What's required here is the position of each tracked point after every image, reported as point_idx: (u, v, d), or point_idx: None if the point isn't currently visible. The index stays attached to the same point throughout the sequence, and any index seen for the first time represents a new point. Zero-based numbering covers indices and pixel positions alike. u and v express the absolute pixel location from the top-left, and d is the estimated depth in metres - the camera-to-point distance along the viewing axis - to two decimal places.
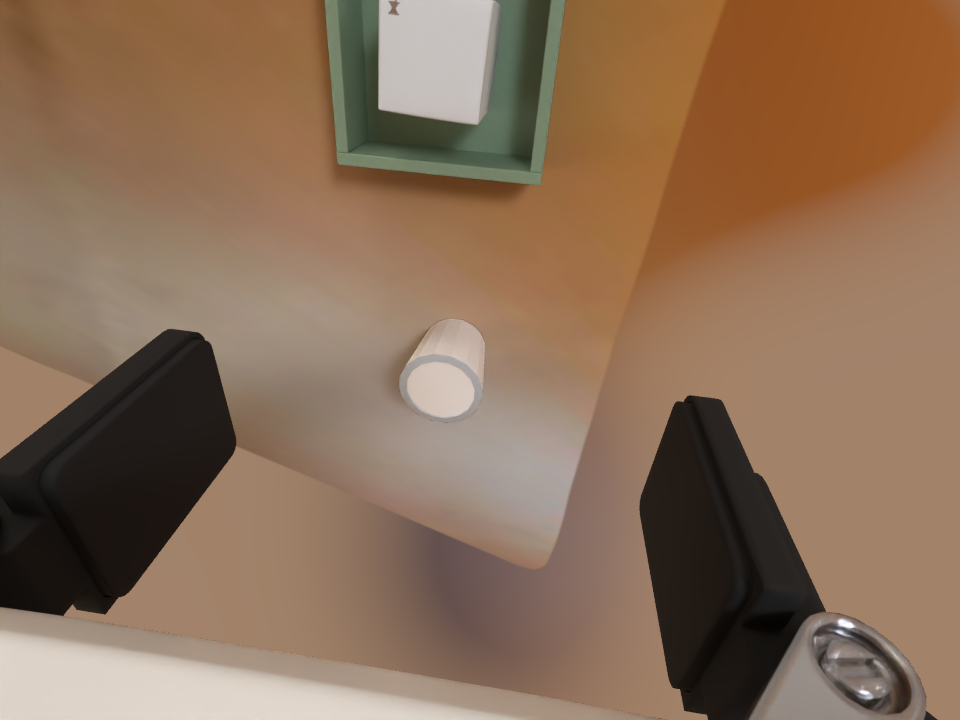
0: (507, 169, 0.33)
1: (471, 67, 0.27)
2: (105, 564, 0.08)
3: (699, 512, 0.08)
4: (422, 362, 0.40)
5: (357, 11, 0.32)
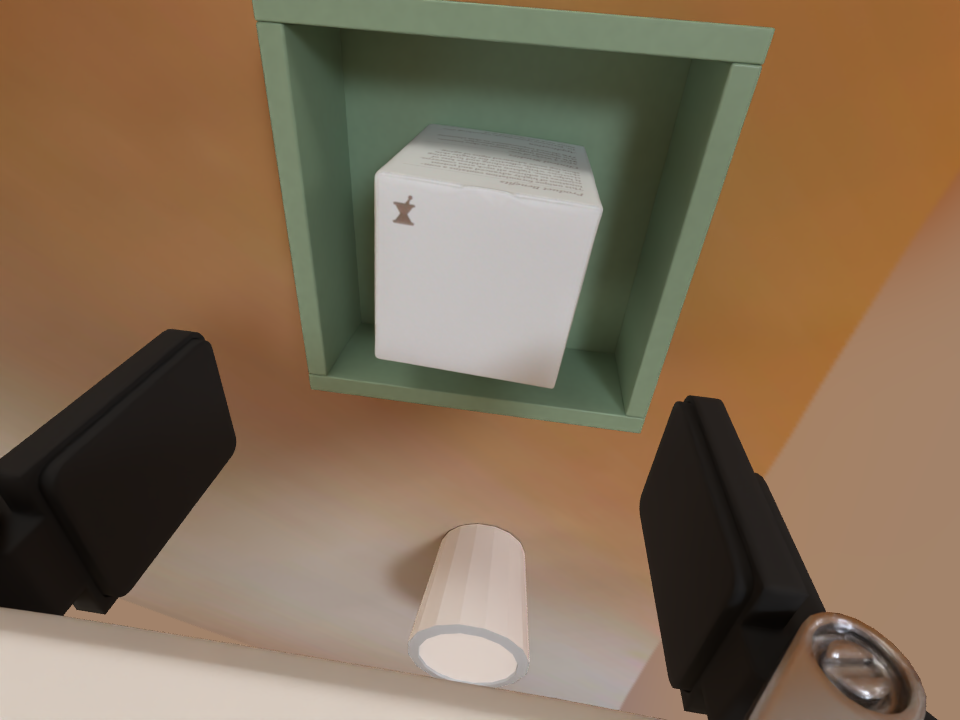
0: (588, 409, 0.20)
1: (548, 310, 0.15)
2: (105, 564, 0.08)
3: (699, 512, 0.08)
4: (442, 631, 0.27)
5: (339, 157, 0.19)
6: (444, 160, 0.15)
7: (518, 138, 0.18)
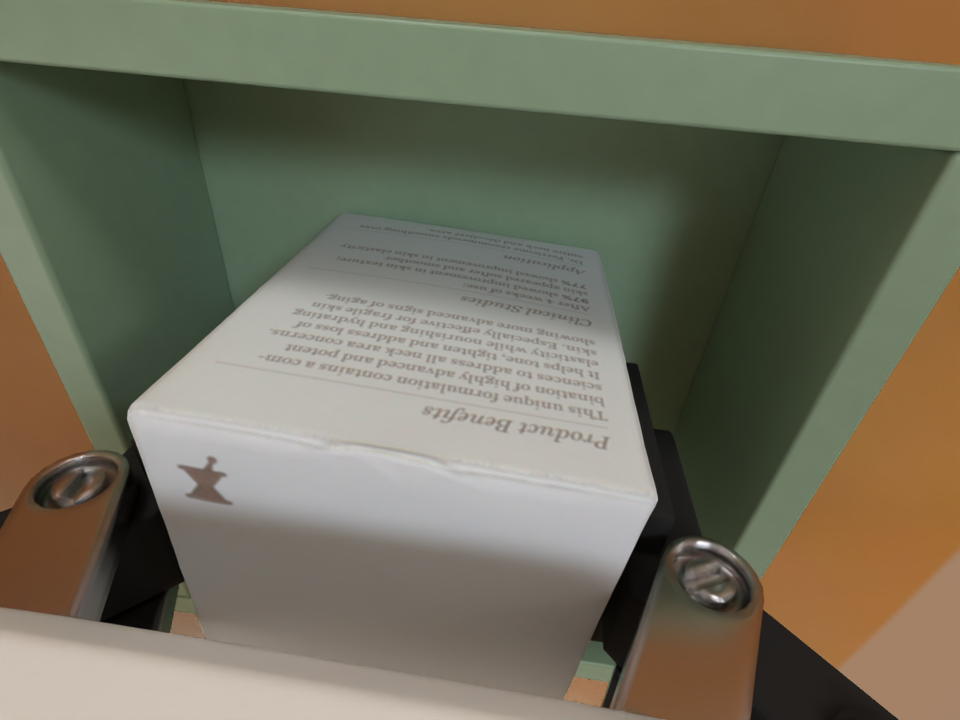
0: (603, 659, 0.13)
1: (534, 645, 0.07)
2: None
3: None
4: None
5: (196, 265, 0.12)
6: (319, 334, 0.07)
7: (486, 243, 0.11)
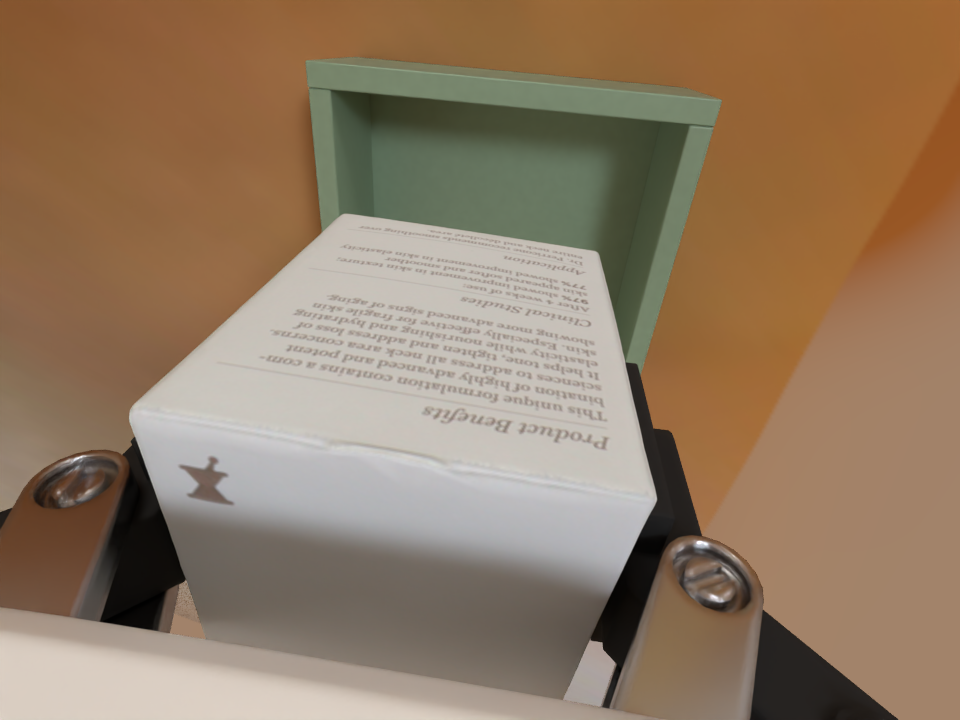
0: None
1: (534, 644, 0.07)
2: None
3: None
4: None
5: (366, 192, 0.22)
6: (320, 335, 0.07)
7: (486, 244, 0.11)
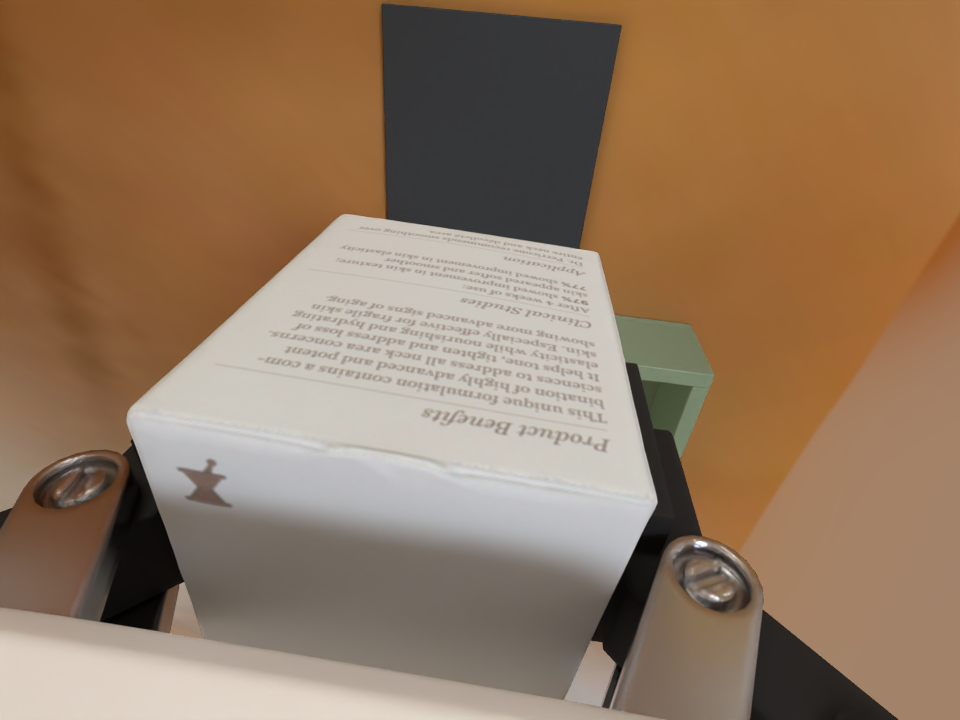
0: None
1: (533, 648, 0.07)
2: None
3: None
4: None
5: None
6: (318, 337, 0.07)
7: (486, 244, 0.11)
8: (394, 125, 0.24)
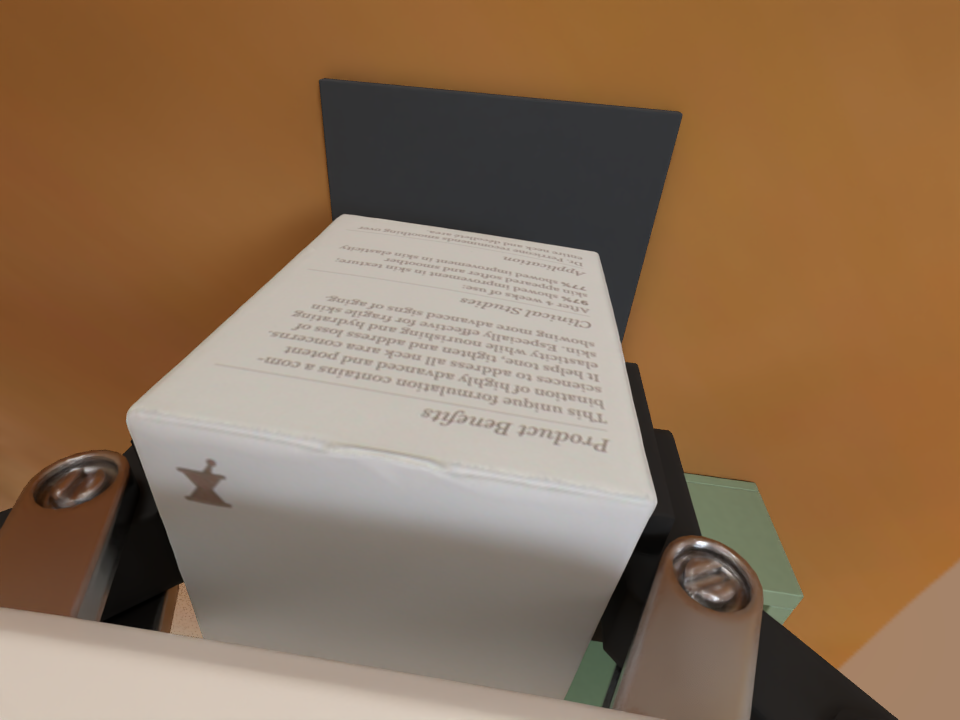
0: None
1: (533, 648, 0.07)
2: None
3: None
4: None
5: None
6: (319, 337, 0.07)
7: (486, 244, 0.11)
8: None
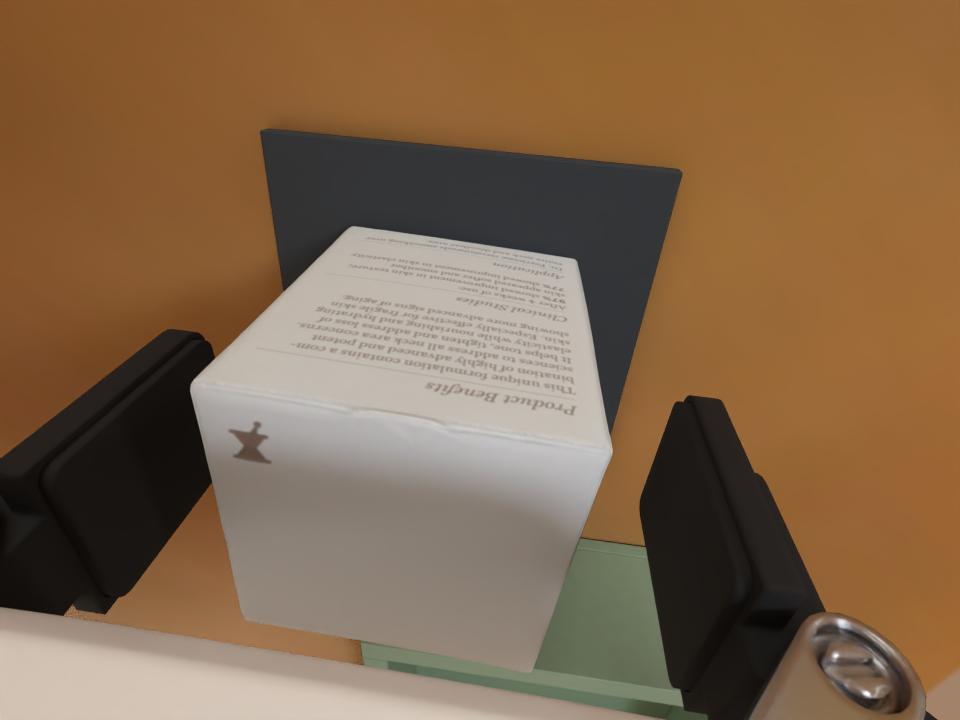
0: None
1: (518, 584, 0.08)
2: (105, 564, 0.08)
3: (699, 512, 0.08)
4: None
5: None
6: (339, 327, 0.09)
7: (478, 252, 0.12)
8: None
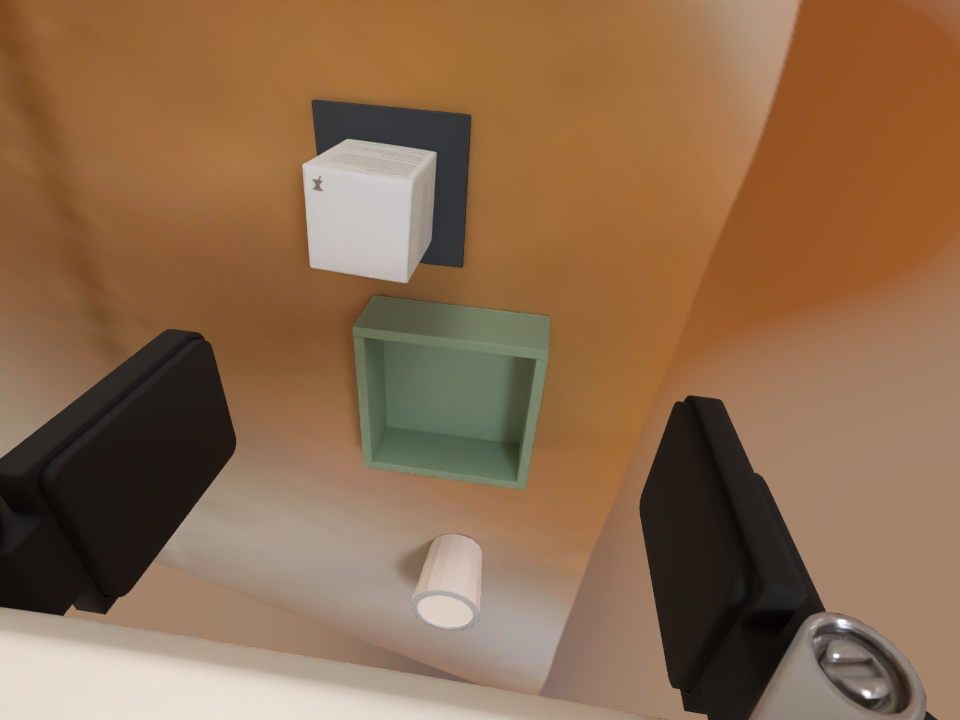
0: (499, 478, 0.41)
1: (395, 236, 0.28)
2: (105, 564, 0.08)
3: (699, 512, 0.08)
4: (430, 594, 0.48)
5: (380, 361, 0.40)
6: (342, 158, 0.28)
7: (395, 147, 0.32)
8: None
